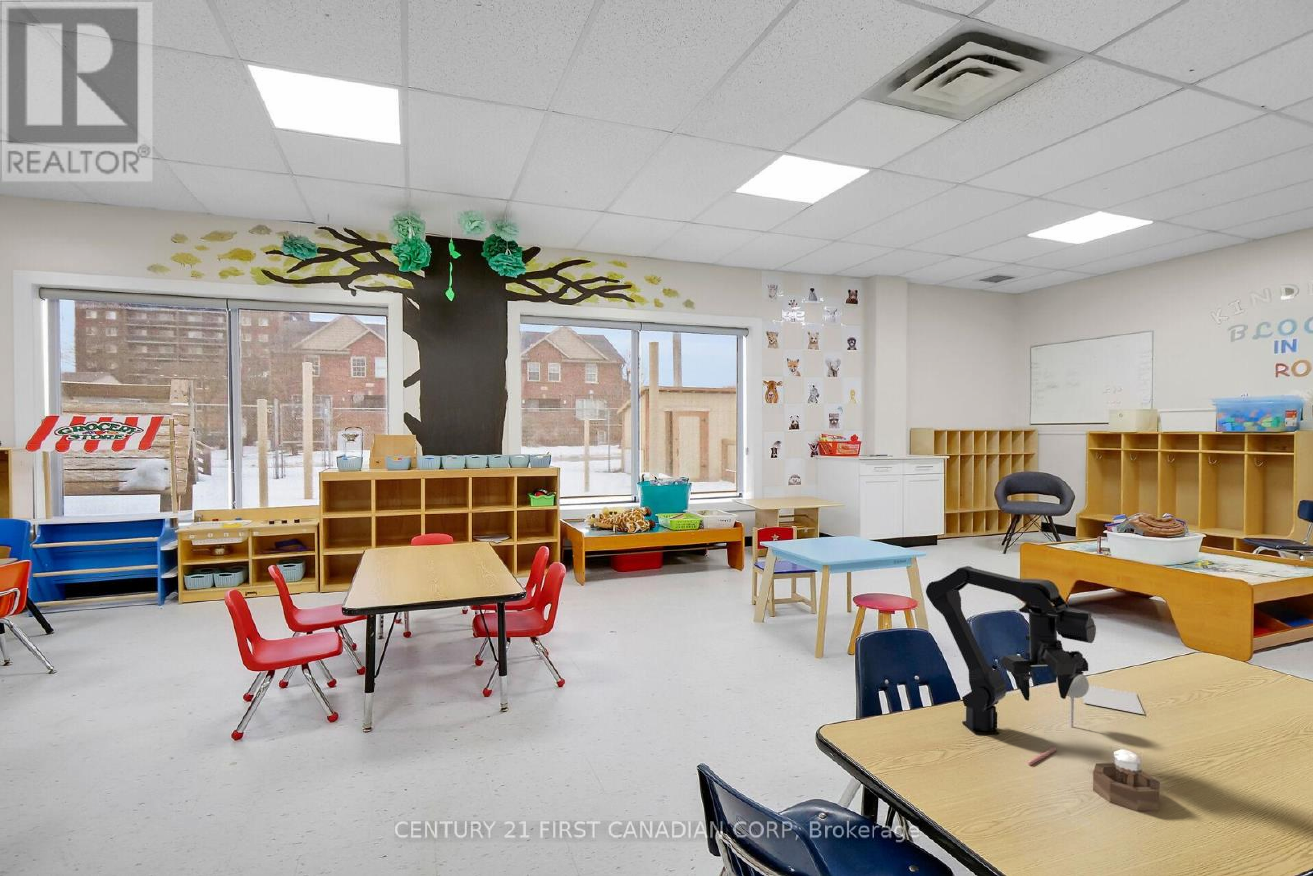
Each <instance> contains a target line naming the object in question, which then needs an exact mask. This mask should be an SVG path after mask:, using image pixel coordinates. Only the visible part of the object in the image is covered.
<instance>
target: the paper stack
mask: <svg viewBox="0 0 1313 876" xmlns="http://www.w3.org/2000/svg"><path fill="white" fill-rule="evenodd" d="M1081 698H1082V701H1083V704H1088V705H1092V706H1098V707H1104V708H1108V709H1113V710H1120V711H1125V712H1130V713H1134V714H1138V715H1139V714H1140V715H1146V714H1145V712H1144V709H1143V707H1142V705H1141V703H1140V700H1139V698H1138V696H1137V693H1134V692H1129V691H1124V690H1117V689H1112V688H1107V687H1101V686H1096V685H1095V686H1094V685H1090V684H1089V689H1088V692H1087V693H1086V694H1085V695H1084V696H1082V697H1081ZM1104 714H1106V715H1109V713H1107V712H1105V711H1104Z"/></svg>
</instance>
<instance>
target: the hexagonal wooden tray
mask: <svg viewBox="0 0 1313 876" xmlns="http://www.w3.org/2000/svg"><path fill="white" fill-rule="evenodd" d="M1092 775H1093V776H1092V780H1093V781H1092V791H1093V792H1095V793H1096V794H1097V795H1099V796H1100V797H1102V798H1103V799H1104V800H1106V801H1107V802H1108V803H1111V804H1113V805H1116V806H1119V807H1123V808H1126V809H1129V810H1133V811H1135V812H1152V811H1155V812H1156V811H1159V809H1160V792H1161V791H1160V788H1161V785H1160V784H1161V782H1160V781H1159V780H1158V779H1156V778H1154V777H1153V776H1152V775H1150V774H1148V773H1147V772H1145V771H1143V770H1142V769H1139V774H1138V781H1137V787H1131V786H1128V785H1125V784H1121V783H1118V782H1116V771H1115V763H1114V762H1102V763H1095V765H1094V768H1093V773H1092Z"/></svg>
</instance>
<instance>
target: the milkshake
mask: <svg viewBox="0 0 1313 876" xmlns="http://www.w3.org/2000/svg"><path fill="white" fill-rule="evenodd" d="M1109 747H1110V749H1111V751H1112V753H1113V761H1114V762H1113V763H1115V771H1116V782H1118V783H1121V784H1125V785H1128V786H1131V787H1137V781H1138V774H1139V770H1140V766H1141V759H1140V757H1139V756H1138V755H1137V754H1135V753H1134V752H1132V751H1130V750H1126V749H1124V748H1123V749H1119V750H1116V751H1114V750H1113V748H1112V746H1111V745H1109Z"/></svg>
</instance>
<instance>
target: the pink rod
mask: <svg viewBox="0 0 1313 876" xmlns="http://www.w3.org/2000/svg"><path fill="white" fill-rule="evenodd" d="M1056 751H1057V748H1056V747H1052V748H1050V749H1048V750H1047V751H1045V752H1043V753H1041V754H1040V755H1038V756H1036V757H1034V758H1032V759H1031V760H1030V761H1028V762H1027V764H1028V765H1029V766H1032V765H1034V764H1036V763H1037V762H1039V761H1041V760H1043V759H1044V758H1046V757H1048V756H1050V755H1051V754H1053V753H1055V752H1056Z"/></svg>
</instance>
